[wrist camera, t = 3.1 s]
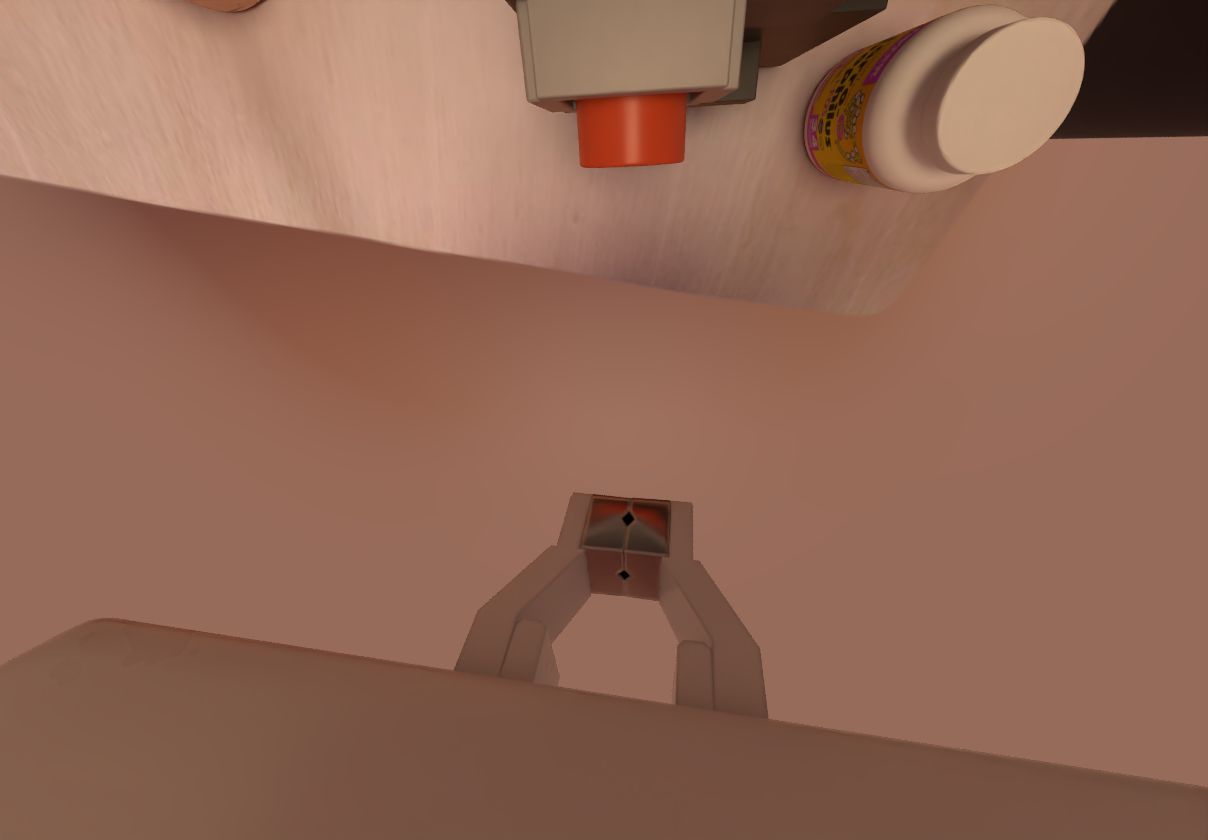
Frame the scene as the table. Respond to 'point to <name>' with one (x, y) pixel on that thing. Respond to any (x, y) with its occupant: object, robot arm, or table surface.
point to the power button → (631, 130)
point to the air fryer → (669, 45)
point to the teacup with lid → (225, 4)
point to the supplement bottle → (945, 100)
